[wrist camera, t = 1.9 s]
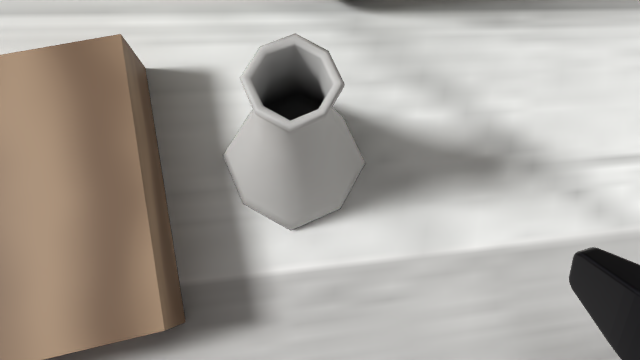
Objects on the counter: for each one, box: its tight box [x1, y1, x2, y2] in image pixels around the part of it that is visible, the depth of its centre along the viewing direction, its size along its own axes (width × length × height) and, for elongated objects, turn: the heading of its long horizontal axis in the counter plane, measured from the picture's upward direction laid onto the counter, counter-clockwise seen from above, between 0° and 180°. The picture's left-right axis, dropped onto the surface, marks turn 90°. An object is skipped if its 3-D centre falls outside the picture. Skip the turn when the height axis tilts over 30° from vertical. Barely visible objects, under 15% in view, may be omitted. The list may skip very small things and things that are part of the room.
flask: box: [223, 34, 365, 230], centre depth 19 cm, size 7×7×10 cm
